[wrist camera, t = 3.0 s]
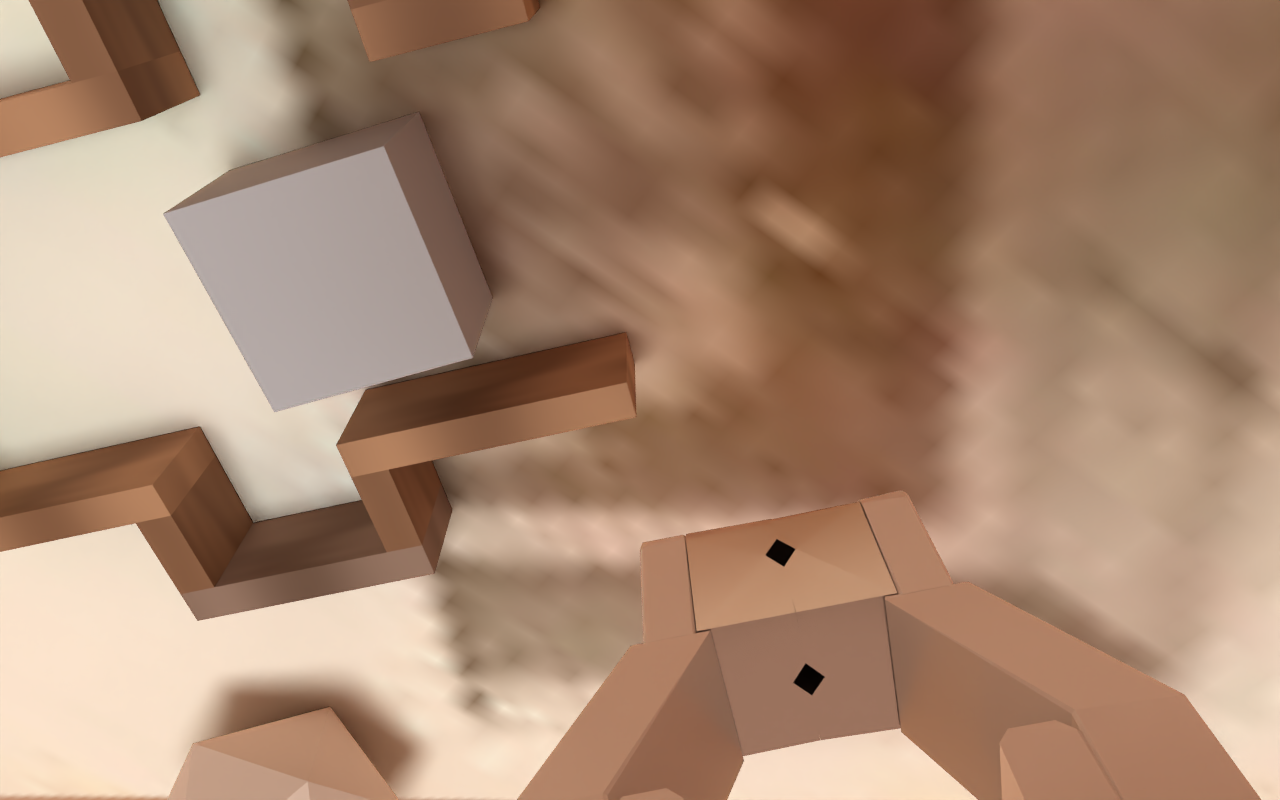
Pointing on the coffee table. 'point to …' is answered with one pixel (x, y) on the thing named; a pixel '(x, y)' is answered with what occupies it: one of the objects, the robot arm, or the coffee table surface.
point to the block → (338, 263)
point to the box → (385, 416)
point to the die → (282, 764)
